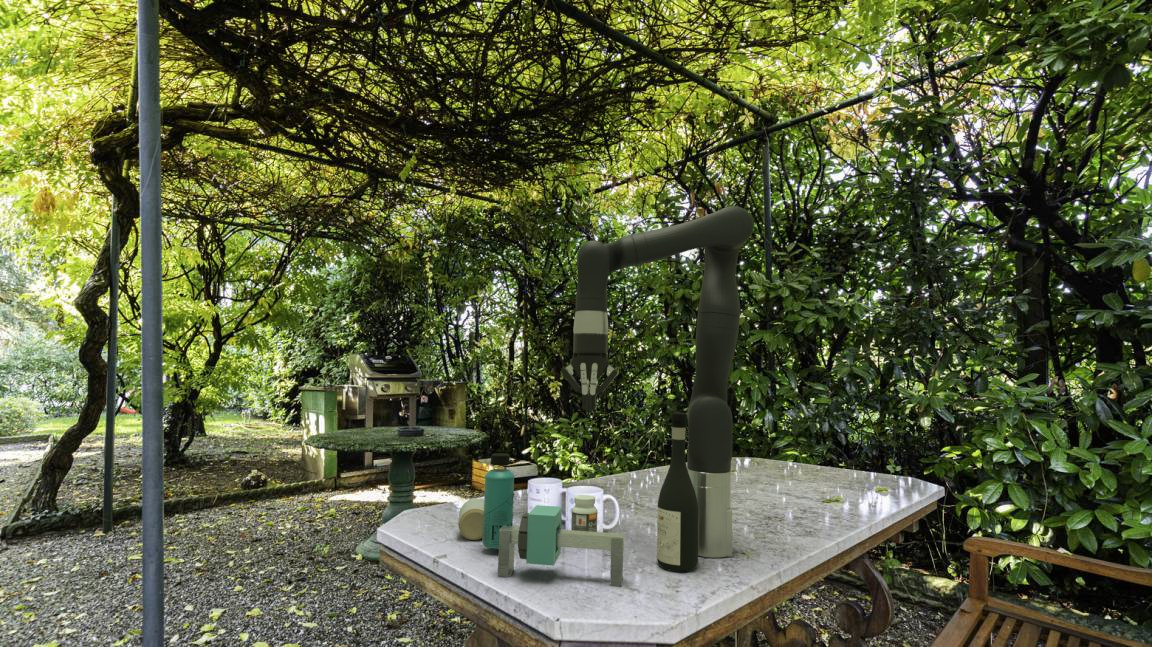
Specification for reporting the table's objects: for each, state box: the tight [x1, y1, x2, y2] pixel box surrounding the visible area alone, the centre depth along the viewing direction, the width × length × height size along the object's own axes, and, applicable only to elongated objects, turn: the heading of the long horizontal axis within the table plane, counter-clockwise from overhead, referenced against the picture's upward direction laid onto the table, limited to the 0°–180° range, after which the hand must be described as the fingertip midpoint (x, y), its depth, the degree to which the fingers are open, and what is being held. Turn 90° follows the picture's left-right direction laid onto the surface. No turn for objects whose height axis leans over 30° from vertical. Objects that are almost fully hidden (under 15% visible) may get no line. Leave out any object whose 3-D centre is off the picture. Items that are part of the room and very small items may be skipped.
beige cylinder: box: [457, 497, 484, 541], centre depth 127 cm, size 11×8×8 cm
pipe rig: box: [497, 525, 625, 587], centre depth 103 cm, size 23×4×8 cm, turn 82°
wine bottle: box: [656, 412, 699, 573], centre depth 112 cm, size 8×8×30 cm
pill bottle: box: [570, 494, 598, 532], centre depth 125 cm, size 6×6×10 cm
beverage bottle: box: [481, 452, 516, 549], centre depth 118 cm, size 6×7×20 cm
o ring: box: [517, 512, 530, 560], centre depth 104 cm, size 2×8×8 cm, turn 172°
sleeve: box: [525, 504, 563, 567], centre depth 104 cm, size 5×7×9 cm
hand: (588, 412), depth 122 cm, fingers closed
